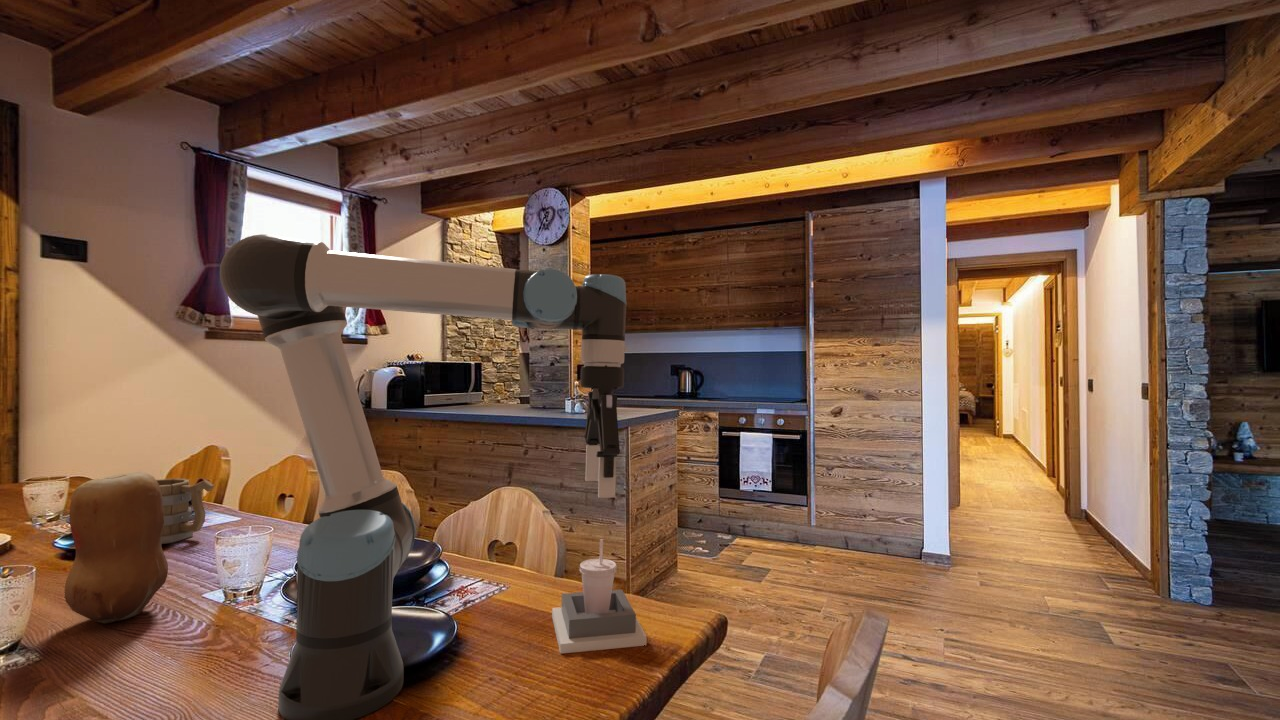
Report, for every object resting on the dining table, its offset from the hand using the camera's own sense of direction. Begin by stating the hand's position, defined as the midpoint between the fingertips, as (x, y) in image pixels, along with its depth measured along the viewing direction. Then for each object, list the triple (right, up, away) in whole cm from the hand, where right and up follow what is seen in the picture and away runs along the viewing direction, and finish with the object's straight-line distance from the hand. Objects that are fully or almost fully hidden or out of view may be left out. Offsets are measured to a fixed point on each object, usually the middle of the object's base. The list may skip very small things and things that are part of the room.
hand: (599, 488), depth 100 cm
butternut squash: (-83, -23, 0) cm, 86 cm away
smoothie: (0, -23, 0) cm, 23 cm away
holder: (0, -24, 0) cm, 24 cm away
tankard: (-109, -23, +45) cm, 120 cm away
